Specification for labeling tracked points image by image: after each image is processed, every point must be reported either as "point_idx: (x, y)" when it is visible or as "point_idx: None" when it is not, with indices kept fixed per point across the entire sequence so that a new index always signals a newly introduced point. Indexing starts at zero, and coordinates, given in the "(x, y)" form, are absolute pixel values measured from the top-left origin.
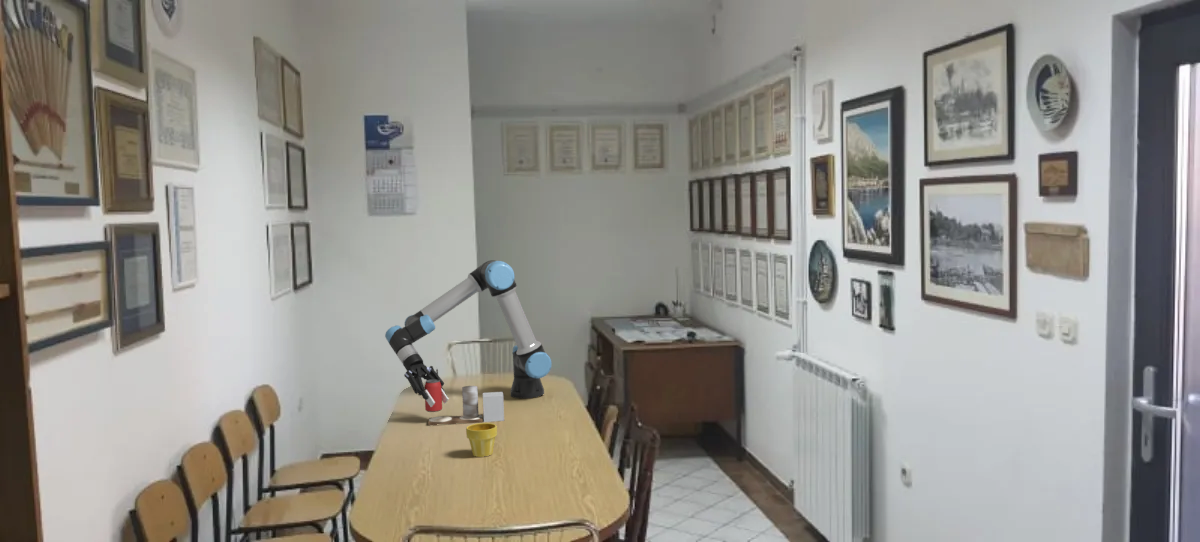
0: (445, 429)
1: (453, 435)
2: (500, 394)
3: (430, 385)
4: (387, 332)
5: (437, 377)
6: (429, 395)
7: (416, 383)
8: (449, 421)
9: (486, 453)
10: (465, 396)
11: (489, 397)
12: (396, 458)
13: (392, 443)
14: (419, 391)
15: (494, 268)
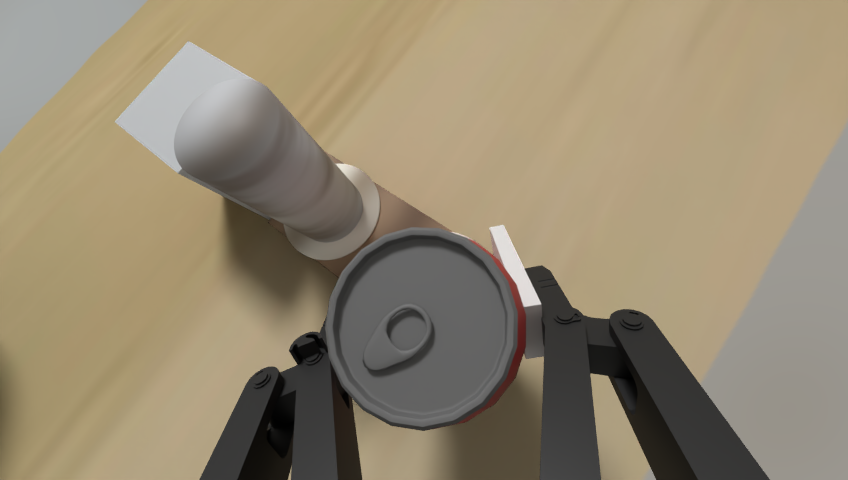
0: (499, 163)
1: (527, 65)
2: (170, 74)
3: (495, 259)
4: None
5: (234, 476)
6: (514, 262)
7: (671, 401)
8: (434, 221)
9: None
10: (308, 140)
11: (236, 71)
12: None
13: (818, 112)
14: (608, 326)
15: None
